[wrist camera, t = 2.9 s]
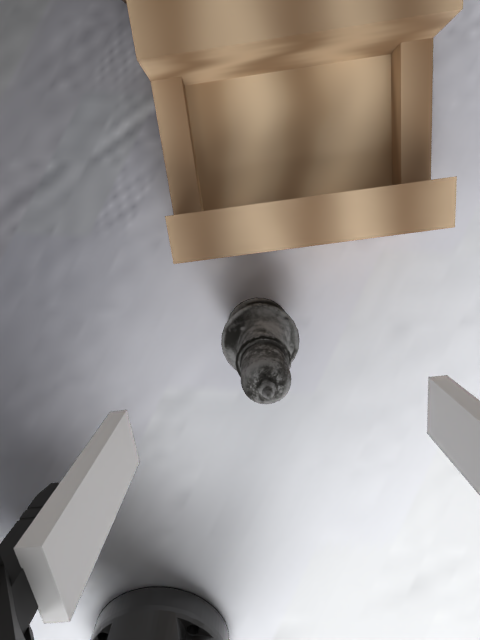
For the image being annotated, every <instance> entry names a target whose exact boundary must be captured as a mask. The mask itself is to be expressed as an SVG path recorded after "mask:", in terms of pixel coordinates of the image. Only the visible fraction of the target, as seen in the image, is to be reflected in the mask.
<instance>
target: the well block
mask: <svg viewBox="0 0 480 640" xmlns="http://www.w3.org/2000/svg"><path fill="white" fill-rule="evenodd" d="M126 2H127V7H128V13H129V19H130V24H131V30H132V35H133V41H134V46H135V52H136V57H137V61H138V62H139V64H140V65H141V67H142V69H143V70H144V72H145V73H146V75H147V76H148V78H149V79H150V81H151V86H152V92H153V97H154V103H155V109H156V115H157V120H158V126H159V132H160V138H161V144H162V149H163V155H164V161H165V167H166V172H167V178H168V184H169V190H170V195H171V201H172V207H173V213H174V215H171V216H165V218H166V224H167V230H168V235H169V241H170V246H171V252H172V257H173V263H174V264H177V263H185V262H193V261H200V260H208V259H216V258H223V257H231V256H239V255H246V254H254V253H262V252H269V251H277V250H284V249H292V248H300V247H307V246H315V245H323V244H330V243H338V242H346V241H353V240H361V239H369V238H376V237H384V236H392V235H399V234H407V233H414V232H422V231H430V230H437V229H445V228H453V227H455V208H456V180H457V176H456V177H449V178H442V179H434V180H431V135H432V78H433V37H434V36H435V35H437V34H438V33H439V32H440V31H441V30H442V29H443V28H444V27H445V26H446V25H447V24H448V23H449V22H450V21H451V20H452V19H453V18H454V17H455V16H456V15H457V14H458V13H459V12H460V11H461V10H462V9H463V0H126Z"/></svg>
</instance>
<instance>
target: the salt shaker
mask: <svg viewBox="0 0 480 640" xmlns="http://www.w3.org/2000/svg"><path fill="white" fill-rule="evenodd" d="M221 345H222V349H223V354H224V356H225V357H226V359H227V361H228V363H229V364H230V365H231V366H232V367H233V368H234V369H235V370H237V372H238V374H239V375H240V377H241V384H242V388H243V390H244V392H245V394H246V395H247V396H248V397H249V398H250V399H251V400H253V401H254V402H257V403H260V404H271V403H275V402H277V401H279V400H281V399H282V398H283V397H284V396H285V395H286V394H287V393H288V391H289V388H290V385H291V374H290V371H289V369H290V367H291V362H292V361H293V360H294V358H295V356H296V354H297V351H298V347H299V334H298V329H297V327H296V325H295V323H294V321H293V320H292V319H291V317H290V316H289V315H288V314H287V313H286V312H285V311H284V310H283V309H282V308H281V307H280V306H279V305H278V304H276V303H275V302H273V301H271V300H268V299H265V298H253V299H248V300H246V301H244V302H242V303H240V304H239V305H238V306H237V307H236V308H235V309H234V310H233V312H232V313H231V315H230V317H229V320H228V322H227V323H226V325H225V327H224V330H223V333H222V342H221Z"/></svg>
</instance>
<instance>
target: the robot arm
mask: <svg viewBox="0 0 480 640" xmlns="http://www.w3.org/2000/svg"><path fill="white" fill-rule="evenodd" d="M427 434H428V435H429V436H430V437H431V438H432V440H433V441H434V442H435V443H436V444H437V446H438V447H439V448H440V449H441V450H442V451H443V453H444V454H445V455H446V456H447V457H448V459H449V460H450V461H451V462H452V463H453V464H454V466H455V467H456V468H457V469H458V470H459V472H460V473H461V474H462V475H463V476H464V477H465V479H466V480H467V481H468V482H469V483H470V485H471V486H472V487H473V488H474V489H475V490H476V492H477V493H478V494H479V495H480V401H479V400H478V399H477V398H476V397H474V396H473V395H472V394H470V393H469V392H468V391H467V390H465V389H464V388H463V387H461V386H460V385H459V384H458V383H456V382H455V381H454V380H452V379H451V378H450V377H449V376H447V375H445V376H436V377H428V417H427ZM139 463H140V461H139V457H138V453H137V449H136V444H135V440H134V436H133V432H132V428H131V424H130V420H129V416H128V412H127V410H121V411H112V412H110V413H109V414H108V415H107V417H106V418H105V420H104V421H103V422H102V424H101V425H100V427H99V428H98V430H97V431H96V432H95V434H94V435H93V437H92V438H91V439H90V441H89V442H88V444H87V445H86V447H85V448H84V449H83V451H82V452H81V454H80V455H79V456H78V458H77V459H76V461H75V462H74V464H73V465H72V466H71V468H70V469H69V471H68V472H67V473H66V475H65V476H64V478H63V479H62V481H61V482H60V483H51V484H50V485H49V486H48V487H46V488H45V489H44V490H43V491H42V492H40V493H39V494H38V495H37V496H36V497H35V499H34V500H33V501H32V503H31V504H30V505H29V507H28V510H26V511H25V512H24V513H23V515H22V516H21V517H20V520H19V521H17V523H16V524H15V525H14V527H13V528H12V529H11V530H10V532H9V533H8V534H7V536H6V537H5V538H4V540H3V541H2V542H1V544H0V640H34V637H33V632H32V630H31V627H30V625H29V624H30V622H31V621H32V619H33V617H34V615H35V613H36V611H37V609H38V611H39V613H40V616H41V618H42V621H43V623H44V624H47V623H60V622H70V621H71V618H72V616H73V614H74V611H75V609H76V607H77V605H78V602H79V600H80V598H81V595H82V593H83V591H84V589H85V586H86V584H87V582H88V579H89V577H90V575H91V573H92V570H93V568H94V566H95V563H96V561H97V559H98V557H99V554H100V552H101V550H102V547H103V545H104V543H105V541H106V538H107V536H108V534H109V531H110V529H111V527H112V525H113V522H114V520H115V518H116V515H117V513H118V511H119V509H120V506H121V504H122V502H123V499H124V497H125V495H126V493H127V490H128V488H129V486H130V483H131V481H132V479H133V477H134V474H135V472H136V470H137V467H138V465H139ZM90 640H229V635H228V629H227V626H226V624H225V621H224V620H223V618H222V616H221V615H220V614H219V613H218V611H217V610H216V609H215V608H214V607H213V606H211V605H210V604H209V603H208V602H206V601H205V600H203V599H201V598H200V597H198V596H196V595H193V594H191V593H188V592H185V591H182V590H178V589H173V588H165V587H150V588H142V589H137V590H133V591H130V592H127V593H125V594H123V595H121V596H119V597H117V598H116V599H114V600H113V601H111V602H110V603H109V604H108V605H107V606H106V607H105V608H104V609H103V611H102V612H101V614H100V615H99V618H98V620H97V623H96V626H95V628H94V631H93V634H92V637H91V639H90Z"/></svg>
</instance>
